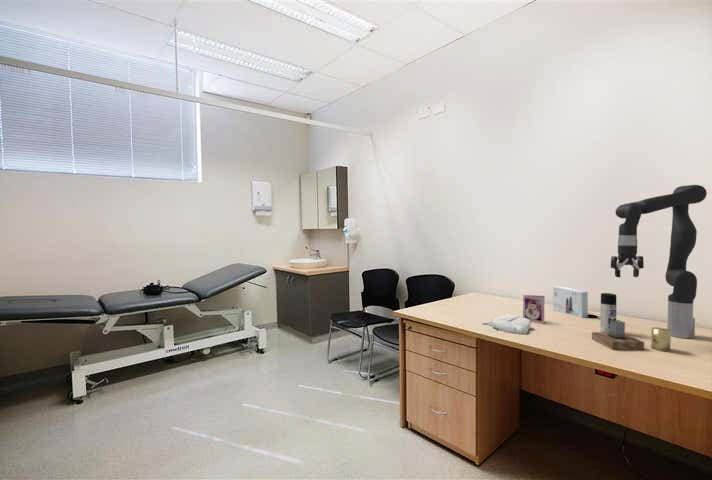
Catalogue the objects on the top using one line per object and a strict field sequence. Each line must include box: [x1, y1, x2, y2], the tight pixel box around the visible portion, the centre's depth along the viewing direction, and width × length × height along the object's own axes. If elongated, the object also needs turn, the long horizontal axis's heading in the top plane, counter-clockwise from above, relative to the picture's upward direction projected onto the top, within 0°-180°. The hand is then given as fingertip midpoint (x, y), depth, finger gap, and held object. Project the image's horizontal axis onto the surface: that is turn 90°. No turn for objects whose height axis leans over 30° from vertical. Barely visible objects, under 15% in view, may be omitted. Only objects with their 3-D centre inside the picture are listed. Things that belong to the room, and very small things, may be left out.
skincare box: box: [552, 285, 589, 319], centre depth 216 cm, size 21×6×16 cm, turn 17°
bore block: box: [591, 331, 645, 351], centre depth 160 cm, size 14×14×4 cm
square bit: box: [610, 319, 626, 339], centre depth 160 cm, size 4×4×11 cm
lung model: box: [480, 314, 532, 335], centre depth 188 cm, size 7×17×25 cm
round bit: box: [650, 326, 672, 353], centre depth 153 cm, size 6×6×9 cm
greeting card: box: [522, 294, 545, 325], centre depth 199 cm, size 11×7×15 cm, turn 42°
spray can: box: [600, 292, 617, 332], centre depth 178 cm, size 7×7×20 cm
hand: (626, 277), depth 169 cm, fingers open, 8 cm apart
